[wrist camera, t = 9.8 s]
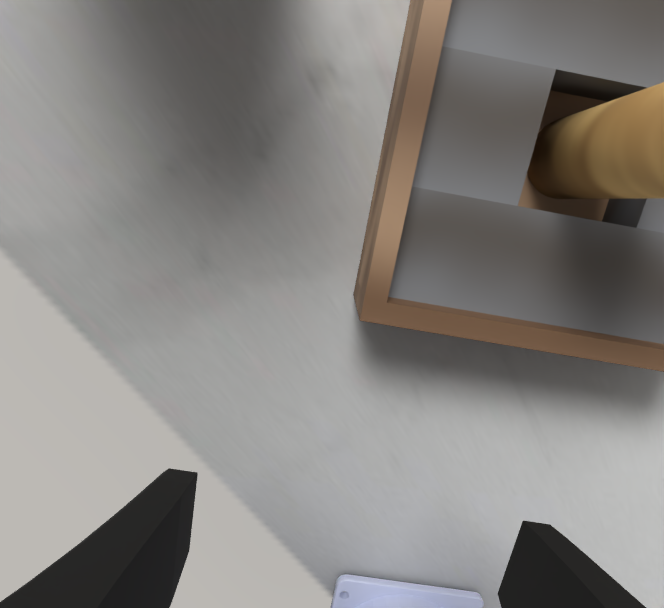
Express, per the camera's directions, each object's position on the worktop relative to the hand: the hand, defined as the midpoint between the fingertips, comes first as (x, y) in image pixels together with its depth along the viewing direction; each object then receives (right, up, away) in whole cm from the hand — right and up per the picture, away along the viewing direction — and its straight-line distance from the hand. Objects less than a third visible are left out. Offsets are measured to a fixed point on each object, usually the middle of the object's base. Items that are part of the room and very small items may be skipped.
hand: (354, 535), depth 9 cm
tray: (+9, +11, +8) cm, 16 cm away
